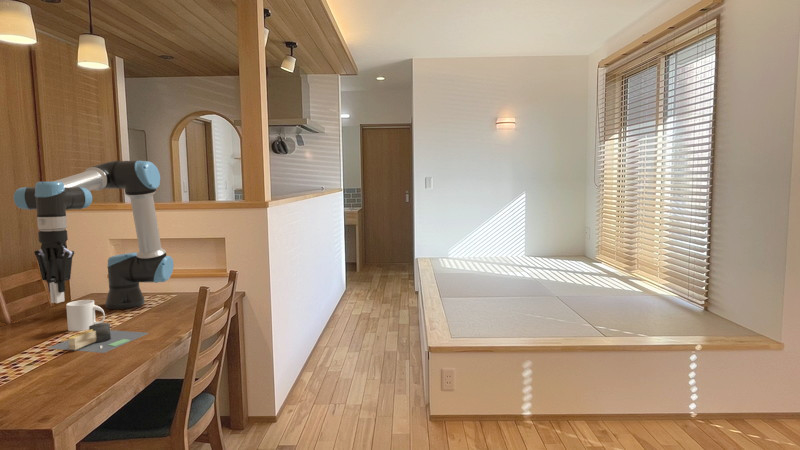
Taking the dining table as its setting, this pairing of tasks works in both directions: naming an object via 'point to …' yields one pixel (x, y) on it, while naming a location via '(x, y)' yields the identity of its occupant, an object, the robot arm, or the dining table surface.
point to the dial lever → (91, 336)
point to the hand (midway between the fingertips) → (57, 301)
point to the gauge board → (102, 347)
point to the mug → (82, 315)
